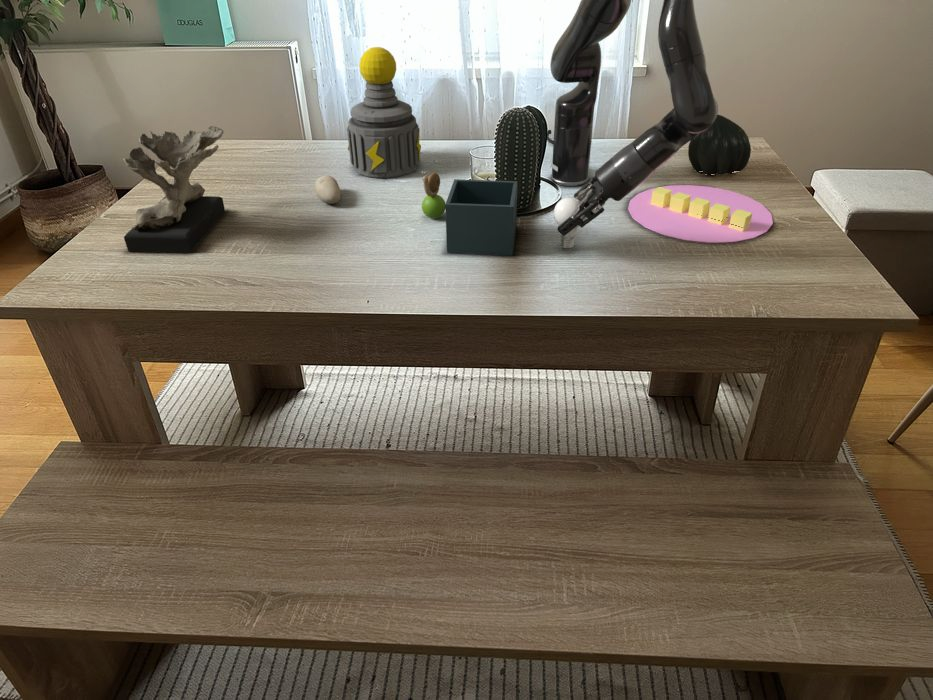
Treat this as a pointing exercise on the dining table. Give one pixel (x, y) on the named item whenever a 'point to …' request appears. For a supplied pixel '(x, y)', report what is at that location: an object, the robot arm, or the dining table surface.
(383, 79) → the decorative lamp
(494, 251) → the trash bin
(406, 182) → the dining table surface
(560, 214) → the lightbulb
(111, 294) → the dining table surface
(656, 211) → the platter
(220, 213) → the coral
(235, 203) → the dining table surface
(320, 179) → the stone
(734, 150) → the squash
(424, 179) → the green ball figurine
